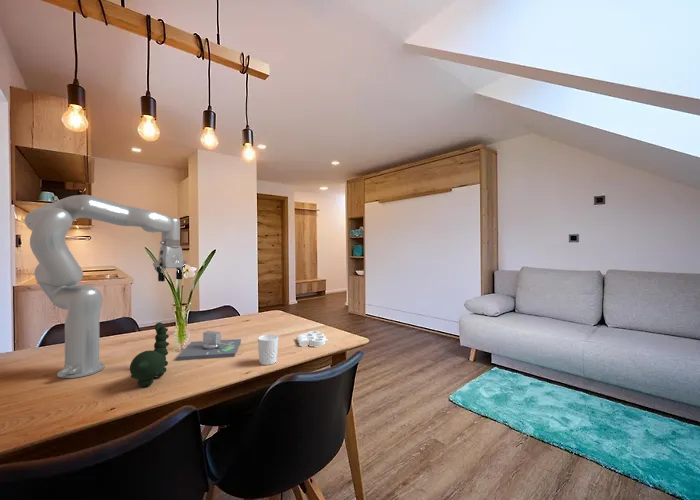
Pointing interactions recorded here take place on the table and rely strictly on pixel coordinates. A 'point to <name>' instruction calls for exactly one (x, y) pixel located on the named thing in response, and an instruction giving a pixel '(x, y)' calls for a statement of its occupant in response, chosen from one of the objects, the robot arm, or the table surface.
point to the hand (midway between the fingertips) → (170, 280)
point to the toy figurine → (151, 359)
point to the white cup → (267, 349)
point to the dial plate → (198, 352)
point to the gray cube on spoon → (212, 340)
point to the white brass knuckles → (311, 338)
